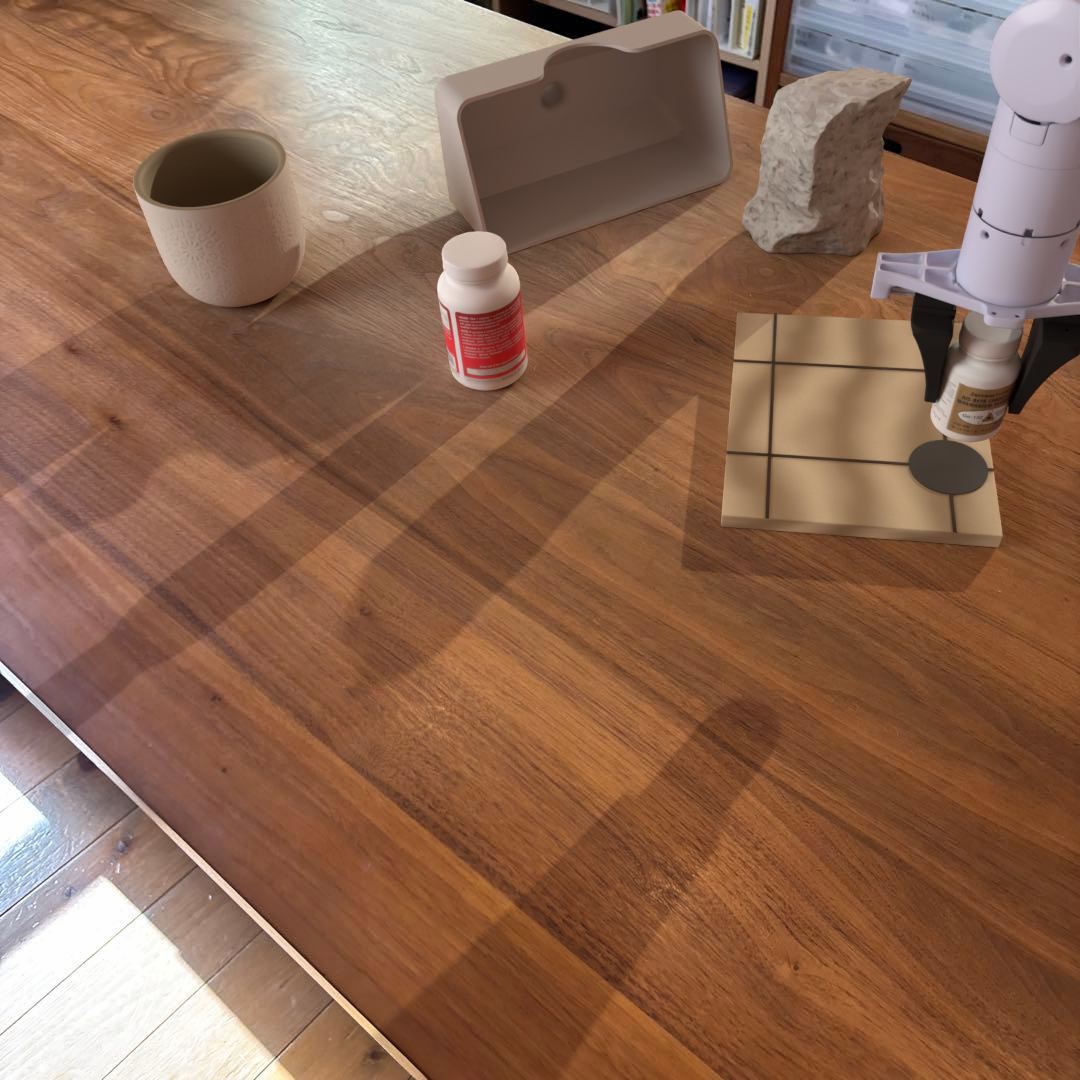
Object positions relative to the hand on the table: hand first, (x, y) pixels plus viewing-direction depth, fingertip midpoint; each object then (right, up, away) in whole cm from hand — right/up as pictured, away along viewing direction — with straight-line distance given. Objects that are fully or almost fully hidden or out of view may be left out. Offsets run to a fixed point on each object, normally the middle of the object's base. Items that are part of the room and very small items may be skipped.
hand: (971, 397), depth 70 cm
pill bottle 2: (0, -1, +2) cm, 2 cm away
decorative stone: (-3, +18, +27) cm, 32 cm away
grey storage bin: (-24, +25, +35) cm, 50 cm away
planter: (-53, +14, +28) cm, 62 cm away
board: (-4, -1, +11) cm, 12 cm away
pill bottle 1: (-31, +5, +18) cm, 36 cm away
